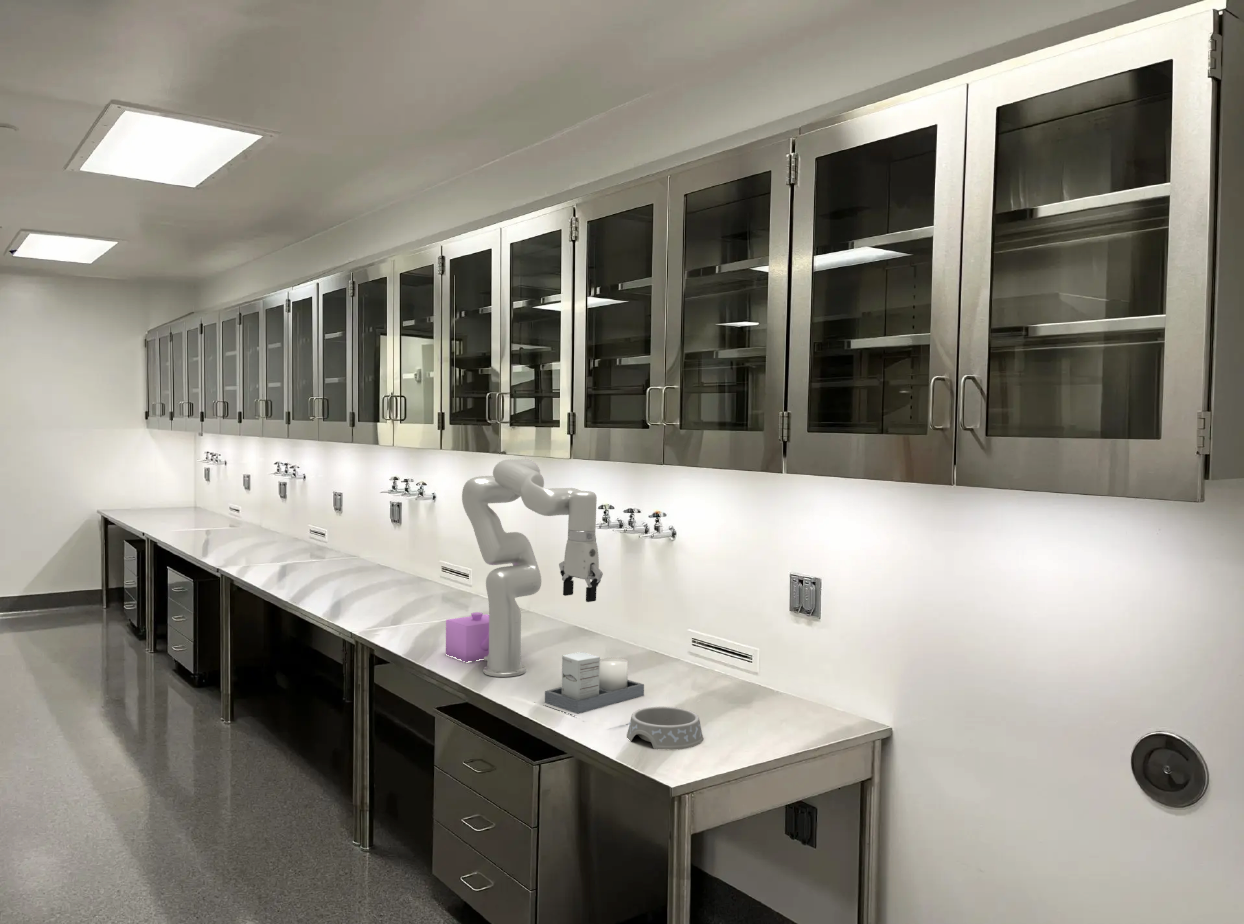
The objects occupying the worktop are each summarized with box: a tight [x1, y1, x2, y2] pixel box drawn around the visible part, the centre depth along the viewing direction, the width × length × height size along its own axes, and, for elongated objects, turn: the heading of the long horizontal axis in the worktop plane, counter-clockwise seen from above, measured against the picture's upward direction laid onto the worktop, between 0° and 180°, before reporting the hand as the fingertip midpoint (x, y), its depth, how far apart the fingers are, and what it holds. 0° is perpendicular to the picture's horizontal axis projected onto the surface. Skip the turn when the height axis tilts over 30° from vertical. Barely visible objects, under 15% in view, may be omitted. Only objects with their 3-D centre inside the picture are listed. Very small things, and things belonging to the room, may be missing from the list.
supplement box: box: [561, 651, 601, 700], centre depth 238 cm, size 7×7×13 cm
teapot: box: [445, 611, 489, 662], centre depth 291 cm, size 15×25×14 cm, turn 40°
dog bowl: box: [626, 706, 704, 750], centre depth 215 cm, size 17×18×5 cm
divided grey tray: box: [544, 679, 645, 717], centre depth 242 cm, size 13×24×4 cm, turn 135°
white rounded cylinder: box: [599, 657, 629, 692], centre depth 247 cm, size 8×8×9 cm
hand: (579, 598), depth 249 cm, fingers open, 9 cm apart
